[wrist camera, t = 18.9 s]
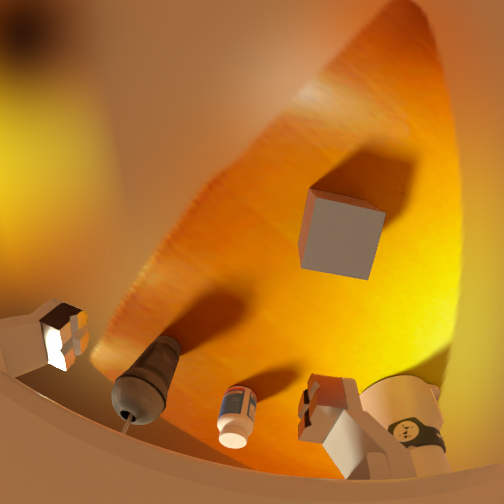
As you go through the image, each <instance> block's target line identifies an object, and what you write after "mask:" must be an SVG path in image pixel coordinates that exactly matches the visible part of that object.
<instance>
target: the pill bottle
mask: <svg viewBox="0 0 504 504" xmlns="http://www.w3.org/2000/svg"><path fill="white" fill-rule="evenodd" d="M256 403H257V398H256V395H255V393H254V392H253V391H252V390H251V389H249V388H247V387H244V386H234V387H231V388H229V389H227V390H226V392H225V394H224V397H223V401H222V405H221V410H220V414H219V418H218V423H217V426H218V429H219V431H220V436H219V441H220V442H221V444H223V445H224V446H226V447H229V448H242V447H244V446H245V445H246V443H247V439H248V436H249V435H250V434H251V433H252V431H253V427H254V420H255V411H256Z"/></svg>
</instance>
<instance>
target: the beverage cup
mask: <svg viewBox="0 0 504 504" xmlns="http://www.w3.org/2000/svg"><path fill="white" fill-rule="evenodd" d="M180 353H181V348H180V345H179V344H178V342H177V341H176V340H175V339H173V338H171V337H169V336H159V337H157V338H156V339H155V341H153V342H152V343H151V344H150V345H149V346H148V347H147V349H146V350H145V351H144V352H143V353H142V354H141V356H140V357H139V358H138V359H137V360H136V361H135V362H134V364H133V365H132V366H131V367H130V368H129V369H128V370H127V371H125V372H124V373H123V374H122V375H121V376H119V377H118V378H117V379H116V381H115V384H114V387H113V391H112V403H113V407H114V409H115V411H116V412H117V414H118V415H119V416H120V417H121V418H122V419H124V420H125V421H126V423H125V425H124V428H123V430H122V432H121V433H122V434H125V433H126V431H127V429H128V427H129V424H130V423H132V424H136V425H142V424H148V423H150V422H152V421H154V420H155V419H156V418H158V417H159V416H160V414H161V413H162V412H163V411H164V409H165V407H166V401H167V393H168V390H169V387H170V384H171V381H172V378H173V375H174V372H175V369H176V366H177V364H178V361H179V356H180Z"/></svg>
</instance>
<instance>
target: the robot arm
mask: <svg viewBox="0 0 504 504" xmlns="http://www.w3.org/2000/svg"><path fill="white" fill-rule="evenodd" d="M87 321H88V319H87V314H86V312H85V311H83V310H81V309H79V308H76V307H74V306H72V305H69V304H67V303H64V302H62V301H59V300H57V299H51V300H49V301H48V302H47V303H45V304H44V305H42V306H41V307H40V308H38V309H37V310H36V311H34V312H33V313H31V314H30V315H29V316H27V315H22V316H16V317H11V318H5V319H0V504H504V465H502V464H493V465H488V466H484V467H479V468H474V469H470V470H464V471H459V472H452V470H451V468H450V465H449V463H448V460H447V458H446V456H445V452H446V448H445V445H444V444H445V443H444V440H443V437H442V436H441V434H440V432H439V431H440V429H441V427H442V424H443V417H442V414H441V411H440V409H439V406H438V404H437V400H438V397H439V394H440V389H439V387H438V386H437V385H432V384H427V383H426V382H424V381H423V380H422V379H420V378H418V377H416V376H411V375H400V376H394V377H390V378H387V379H384V380H382V381H380V382H378V383H376V384H374V385H372V386H371V387H369V388H368V389H366V390H365V391H364V392H363V393H362V394H361V395H360V396H359V393H358V389H357V385H356V381H355V380H354V379H352V378H343V377H340V378H339V377H333V376H326V375H320V374H314V373H312V374H311V376H310V378H309V380H308V389H306V390H304V391H303V394H302V396H301V399H300V403H299V408H298V417H299V418H300V419H301V421H300V423H299V425H298V440H300V441H307V442H314V443H322V445H323V447H324V448H325V450H326V451H327V453H328V454H329V455H330V457H331V458H332V460H333V461H334V463H335V464H336V466H337V467H338V469H339V470H340V471H341V473H342V474H343V476H344V477H345V479H346V480H343V479H322V478H309V477H298V476H289V475H281V474H273V473H267V472H260V471H254V470H248V469H243V468H238V467H233V466H228V465H223V464H219V463H215V462H211V461H206V460H202V459H199V458H195V457H191V456H187V455H184V454H181V453H177V452H174V451H171V450H167V449H164V448H161V447H158V446H155V445H152V444H149V443H146V442H144V441H141V440H138V439H135V438H133V437H130V436H127V435H125V434H122V433H120V432H117V431H115V430H112V429H110V428H108V427H105V426H103V425H101V424H98V423H96V422H94V421H92V420H90V419H87V418H85V417H83V416H81V415H79V414H77V413H75V412H73V411H71V410H69V409H67V408H65V407H63V406H61V405H59V404H57V403H56V402H54V401H52V400H50V399H48V398H46V397H45V396H43V395H41V394H39V393H38V392H36V391H34V390H33V389H31V388H29V387H28V386H26V385H24V384H23V383H21V382H20V381H18V380H16V379H15V378H14V377H17V376H19V375H22V374H24V373H27V372H29V371H32V370H34V369H37V368H39V367H42V366H44V365H47V364H48V363H50V364H52V365H55V366H56V367H59V368H61V369H63V370H65V371H67V369H68V368H69V367H70V366H71V365H72V364H73V363H74V362H75V356H76V355H80V354H82V353H83V352H84V350H85V349H86V347H87V344H88V340H89V331H88V330H87V328H86V326H85V324H86V323H87Z"/></svg>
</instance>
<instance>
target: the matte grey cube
mask: <svg viewBox="0 0 504 504" xmlns="http://www.w3.org/2000/svg"><path fill="white" fill-rule="evenodd" d="M385 215H386V213H385V212H383V211H382V210H380V209H379V208H377V207H375V206H374V205H372V204H370V203H369V202H367V201H365V200H363V199H358V198H354V197H350V196H345V195H341V194H336V193H331V192H327V191H322V190H317V189H312V188H309V191H308V196H307V201H306V206H305V211H304V216H303V221H302V226H301V231H300V236H299V241H298V248H299V256H300V263H301V268H303V269H309V270H314V271H320V272H325V273H331V274H336V275H342V276H347V277H353V278H358V279H364V280H368V278H369V274H370V271H371V268H372V264H373V261H374V257H375V254H376V250H377V246H378V243H379V239H380V235H381V231H382V227H383V223H384V219H385Z"/></svg>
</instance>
